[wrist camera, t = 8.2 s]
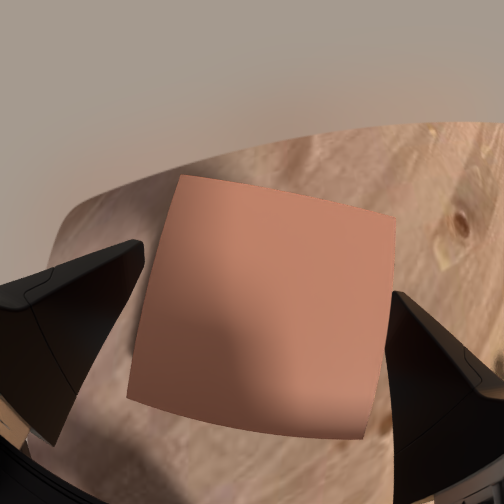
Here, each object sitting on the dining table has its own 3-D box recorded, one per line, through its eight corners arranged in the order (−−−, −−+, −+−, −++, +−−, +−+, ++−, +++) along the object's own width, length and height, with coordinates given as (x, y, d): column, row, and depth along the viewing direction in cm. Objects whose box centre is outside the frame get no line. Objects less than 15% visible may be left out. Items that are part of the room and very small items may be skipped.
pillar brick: (280, 359, 16) (362, 439, 4) (215, 347, 16) (126, 397, 4) (292, 296, 17) (395, 217, 5) (228, 283, 17) (180, 174, 5)
